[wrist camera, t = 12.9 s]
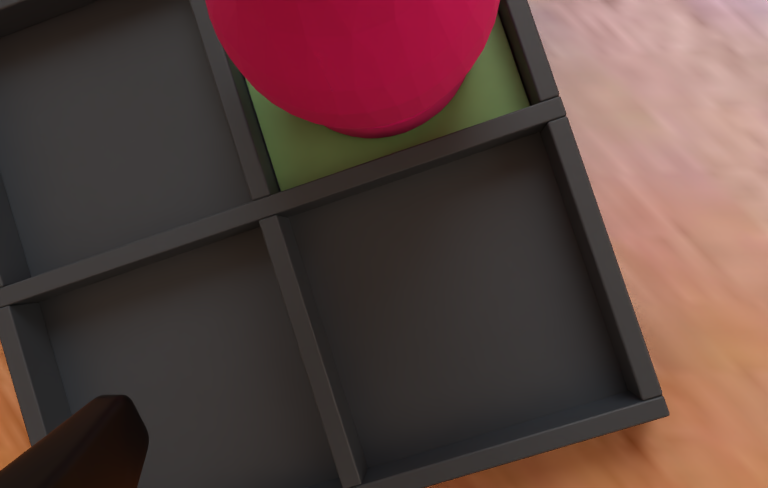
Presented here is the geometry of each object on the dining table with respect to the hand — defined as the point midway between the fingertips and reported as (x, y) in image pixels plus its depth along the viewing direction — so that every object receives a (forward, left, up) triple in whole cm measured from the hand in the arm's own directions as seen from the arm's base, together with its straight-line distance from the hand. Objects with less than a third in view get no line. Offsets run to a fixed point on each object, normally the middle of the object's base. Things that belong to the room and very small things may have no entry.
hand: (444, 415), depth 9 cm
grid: (-2, +6, -12) cm, 13 cm away
